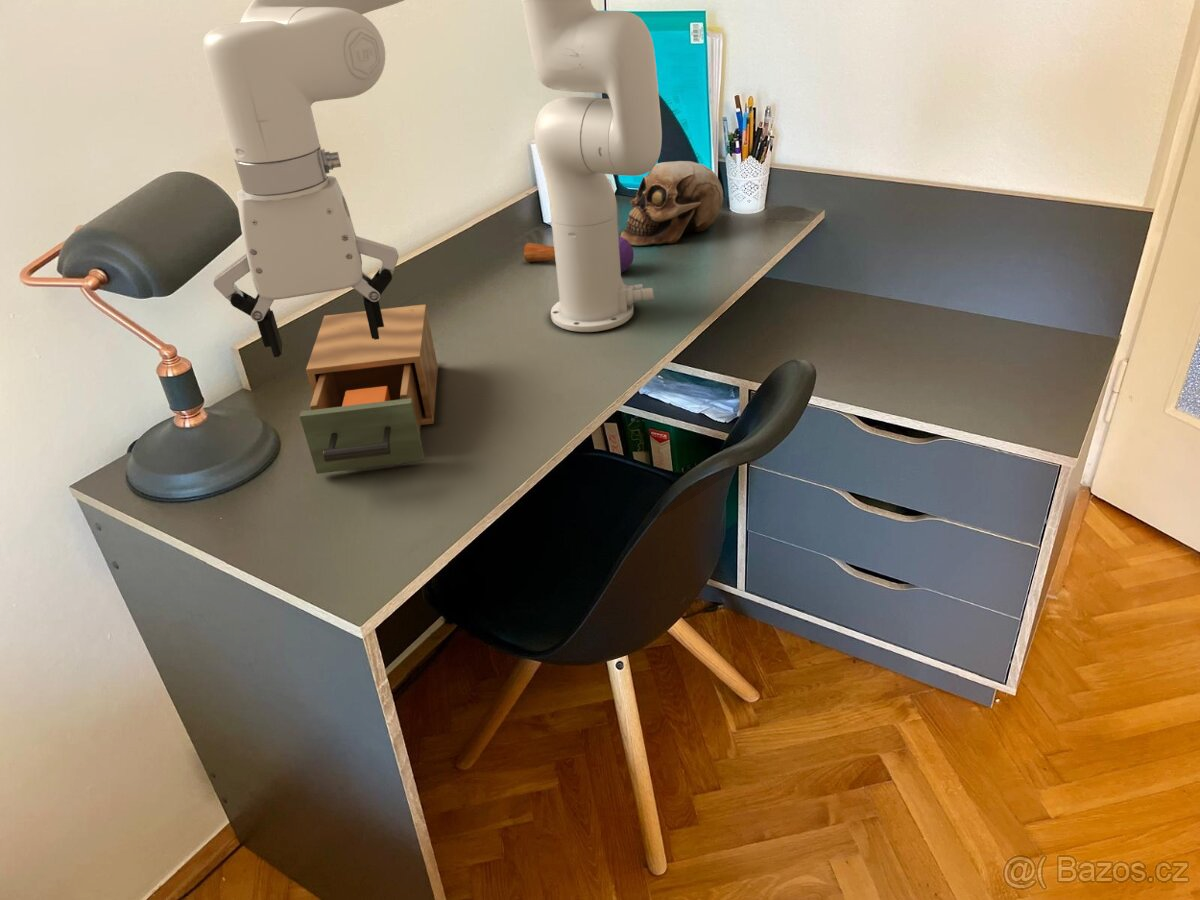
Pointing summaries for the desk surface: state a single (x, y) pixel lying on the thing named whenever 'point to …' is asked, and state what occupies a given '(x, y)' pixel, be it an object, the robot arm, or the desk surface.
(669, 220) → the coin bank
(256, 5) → the robot arm
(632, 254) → the kendama
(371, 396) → the block
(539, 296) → the desk surface
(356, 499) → the desk surface
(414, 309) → the cabinet
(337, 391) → the drawer
